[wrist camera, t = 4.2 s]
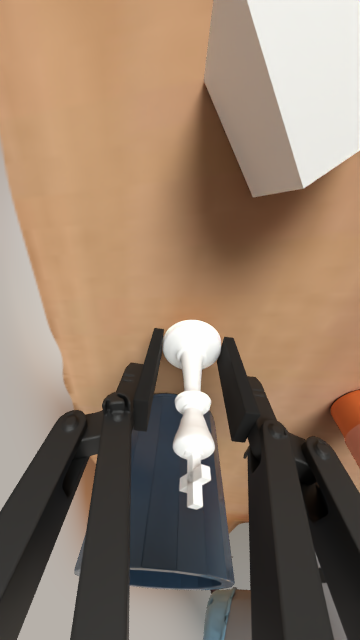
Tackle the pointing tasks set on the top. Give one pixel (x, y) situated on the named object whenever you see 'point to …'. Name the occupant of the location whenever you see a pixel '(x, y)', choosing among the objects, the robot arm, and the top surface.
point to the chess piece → (192, 400)
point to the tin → (174, 512)
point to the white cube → (286, 87)
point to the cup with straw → (349, 421)
